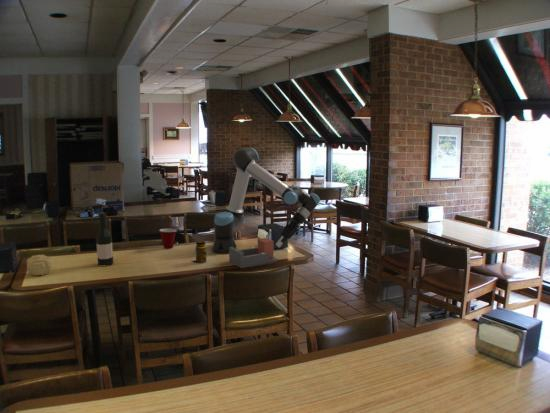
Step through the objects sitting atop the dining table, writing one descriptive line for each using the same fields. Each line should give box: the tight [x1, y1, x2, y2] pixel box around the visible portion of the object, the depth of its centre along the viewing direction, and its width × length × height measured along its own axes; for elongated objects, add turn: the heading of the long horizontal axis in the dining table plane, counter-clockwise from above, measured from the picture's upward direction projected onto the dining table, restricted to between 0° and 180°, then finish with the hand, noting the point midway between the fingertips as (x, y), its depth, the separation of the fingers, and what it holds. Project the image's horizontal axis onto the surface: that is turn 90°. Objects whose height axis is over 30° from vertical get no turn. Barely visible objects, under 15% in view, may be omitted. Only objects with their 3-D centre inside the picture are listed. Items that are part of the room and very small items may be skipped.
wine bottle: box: [95, 211, 114, 266], centre depth 272 cm, size 8×8×30 cm
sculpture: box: [26, 254, 52, 276], centre depth 257 cm, size 11×12×11 cm
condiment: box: [190, 240, 210, 265], centre depth 278 cm, size 7×8×12 cm
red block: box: [257, 237, 275, 258], centre depth 282 cm, size 8×7×10 cm
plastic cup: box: [159, 228, 177, 250], centre depth 307 cm, size 11×11×12 cm
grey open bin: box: [228, 246, 279, 269], centre depth 279 cm, size 15×24×8 cm, turn 121°
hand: (277, 245), depth 286 cm, fingers closed
